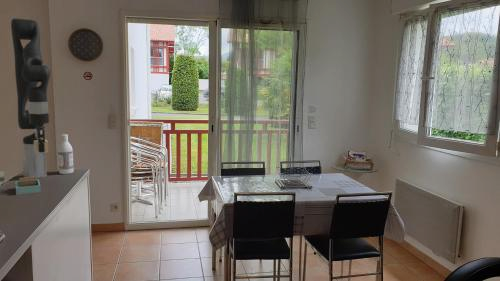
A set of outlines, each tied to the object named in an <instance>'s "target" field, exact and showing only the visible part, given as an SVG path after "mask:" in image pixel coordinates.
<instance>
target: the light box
mask: <svg viewBox="0 0 500 281" xmlns="http://www.w3.org/2000/svg"><path fill="white" fill-rule="evenodd" d="M44 147H45V152H39V146H38V140H34V152H35V154H36V153H46V154H48V153H49V141H48V140H47V139H45V143H44Z"/></svg>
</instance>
